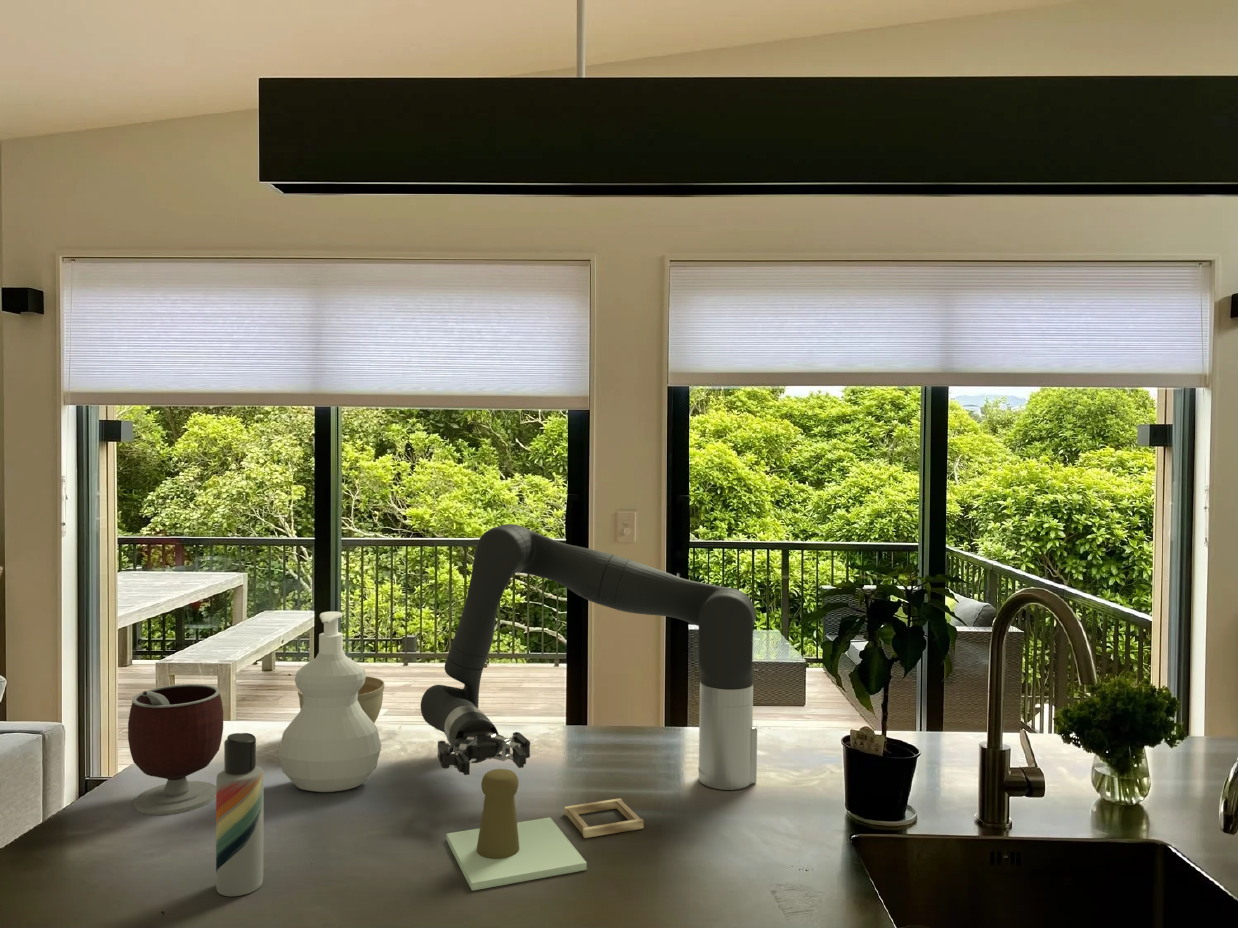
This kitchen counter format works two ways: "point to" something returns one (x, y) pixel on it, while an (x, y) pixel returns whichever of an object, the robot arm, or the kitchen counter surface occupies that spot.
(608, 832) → the oak holder frame
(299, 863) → the kitchen counter surface
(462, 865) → the sage board
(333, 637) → the soap bottle
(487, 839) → the cork
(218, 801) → the lotion bottle
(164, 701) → the mate gourd
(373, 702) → the planter bowl
